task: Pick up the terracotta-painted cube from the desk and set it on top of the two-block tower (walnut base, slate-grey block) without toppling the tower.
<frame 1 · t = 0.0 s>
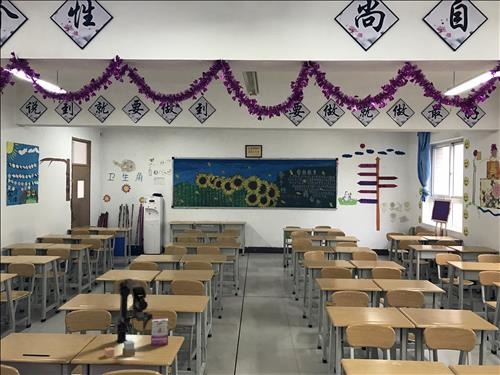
hand: (136, 331, 275), 15 cm above the table, fingers open, 9 cm apart
walnut base block: (128, 355, 275), on the table, touching slate block
terracotta cube: (109, 356, 272), on the table
candy bar box: (159, 344, 295), on the table
slate block: (128, 348, 275), point 4 cm above the table, touching walnut base block
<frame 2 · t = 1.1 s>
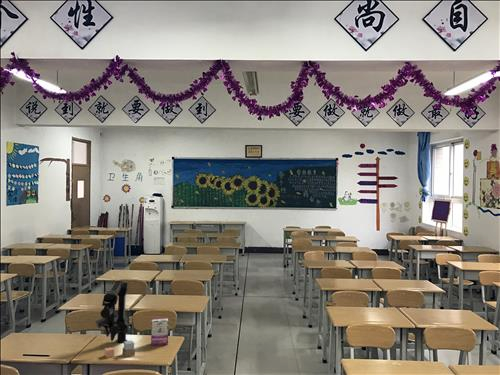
hand: (109, 338, 272), 11 cm above the table, fingers open, 9 cm apart
nothing on the table moved.
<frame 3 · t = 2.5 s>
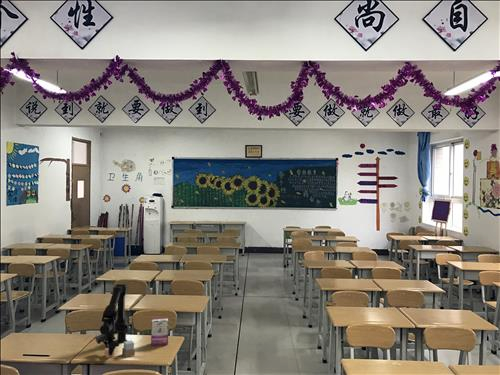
hand: (109, 354, 272), 1 cm above the table, fingers closed on terracotta cube, 4 cm apart
terracotta cube: (109, 356, 272), on the table, touching gripper
everything else where it was.
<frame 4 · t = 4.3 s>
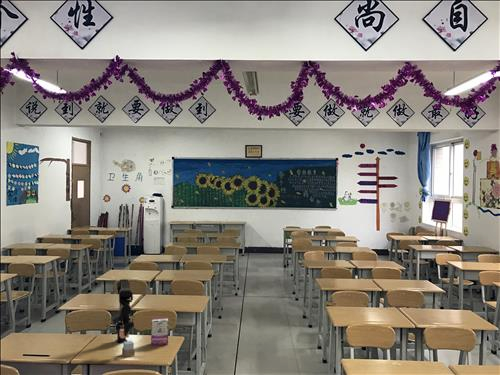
hand: (124, 335, 274), 12 cm above the table, fingers closed on terracotta cube, 4 cm apart
terracotta cube: (124, 336, 274), point 11 cm above the table, touching gripper
everything else where it was.
when the fingers open (10 cm above the table, at t = 5.4 s): terracotta cube drops 1 cm, resting on slate block.
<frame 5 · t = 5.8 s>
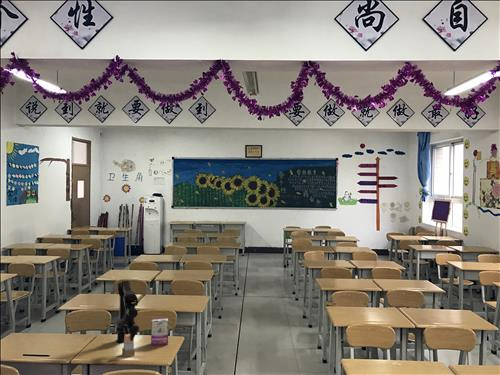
hand: (129, 338, 275), 10 cm above the table, fingers open, 9 cm apart
terracotta cube: (129, 342, 275), point 8 cm above the table, touching slate block
slate block: (128, 348, 275), point 4 cm above the table, touching terracotta cube, walnut base block
everything else where it was.
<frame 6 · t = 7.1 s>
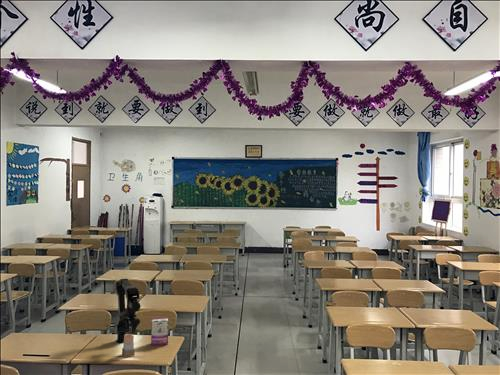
hand: (130, 331, 282), 12 cm above the table, fingers open, 9 cm apart
nothing on the table moved.
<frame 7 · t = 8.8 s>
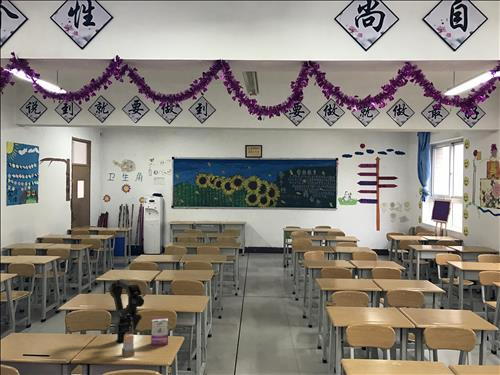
hand: (131, 327, 288), 13 cm above the table, fingers open, 9 cm apart
nothing on the table moved.
at the end: terracotta cube 0.1 cm off-centre on the walnut base block, point 8.0 cm above the walnut base block's base; slate block tilted 0°; walnut base block moved 0.5 cm from its start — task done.
